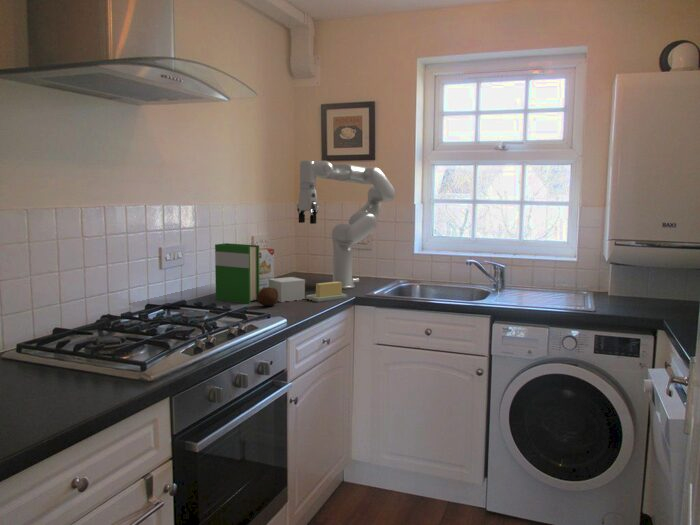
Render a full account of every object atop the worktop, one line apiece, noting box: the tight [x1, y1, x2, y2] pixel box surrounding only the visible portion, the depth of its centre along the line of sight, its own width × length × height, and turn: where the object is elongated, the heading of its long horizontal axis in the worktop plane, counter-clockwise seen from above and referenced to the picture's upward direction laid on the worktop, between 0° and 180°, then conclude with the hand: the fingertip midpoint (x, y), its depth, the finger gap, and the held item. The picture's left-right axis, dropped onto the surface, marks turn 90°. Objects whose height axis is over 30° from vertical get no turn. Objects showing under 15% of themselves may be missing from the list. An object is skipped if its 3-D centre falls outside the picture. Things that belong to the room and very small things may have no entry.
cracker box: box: [259, 247, 275, 292], centre depth 260 cm, size 14×6×21 cm, turn 143°
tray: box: [306, 293, 348, 303], centre depth 252 cm, size 16×8×2 cm, turn 128°
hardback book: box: [214, 242, 260, 304], centre depth 245 cm, size 18×7×24 cm, turn 64°
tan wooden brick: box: [315, 281, 343, 298], centre depth 252 cm, size 12×3×6 cm, turn 128°
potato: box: [257, 287, 278, 307], centre depth 233 cm, size 7×10×8 cm
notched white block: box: [269, 276, 307, 303], centre depth 250 cm, size 13×11×9 cm
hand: (307, 223), depth 271 cm, fingers open, 9 cm apart
